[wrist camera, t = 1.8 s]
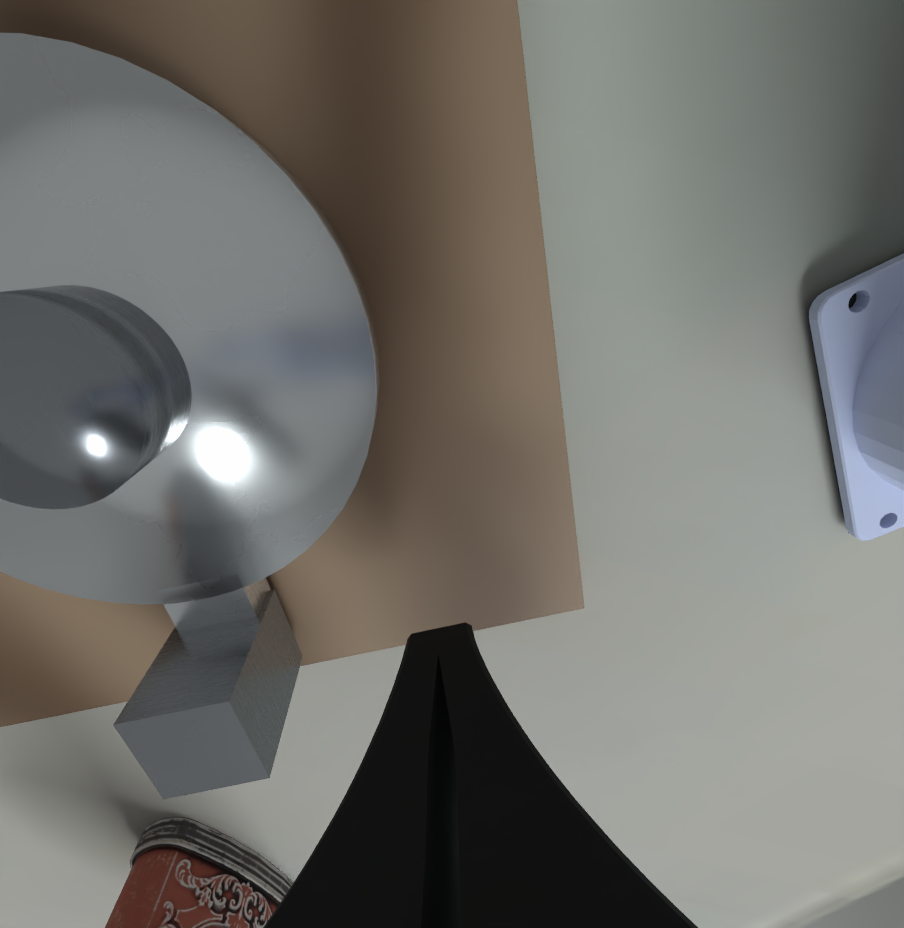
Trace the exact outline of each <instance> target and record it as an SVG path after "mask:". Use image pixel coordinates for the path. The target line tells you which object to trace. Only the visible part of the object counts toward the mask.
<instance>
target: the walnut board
mask: <svg viewBox="0 0 904 928" xmlns="http://www.w3.org/2000/svg"><path fill="white" fill-rule="evenodd" d="M0 33H23V34H29V35H34V36H40V37H45V38H51V39H57V40H62V41H68V42H73V43H76V44H79V45H82V46H85V47H88V48H91V49H94V50H97V51H100V52H103V53H107V54H110V55H113V56H116V57H119V58H122V59H124V60H126V61H128V62H130V63H132V64H134V65H136V66H139V67H141V68H143V69H145V70H147V71H149V72H151V73H153V74H156V75H158V76H160V77H162V78H164V79H166V80H168V81H170V82H171V83H173V84H174V85H176V86H178V87H179V88H181V89H182V90H184V91H186V92H187V93H189V94H190V95H192V96H194V97H195V98H197V99H198V100H200V101H202V102H203V103H205V104H206V105H208V106H210V107H211V108H213V109H214V110H215V111H217V112H218V113H220V114H221V115H223V116H224V117H226V118H227V119H229V120H230V121H231V122H233V123H234V124H236V125H237V126H238V127H239V128H241V129H242V130H243V131H244V132H246V133H247V134H248V135H249V136H251V137H252V138H253V139H254V140H256V141H257V142H258V143H259V144H261V145H262V146H263V147H264V148H266V149H267V150H268V151H269V152H270V153H271V154H272V155H273V156H274V157H275V158H276V159H277V160H278V161H279V162H280V163H281V164H282V165H283V166H284V167H285V168H286V169H287V170H288V171H289V172H290V173H291V174H292V175H293V176H294V177H295V178H296V179H297V180H298V181H299V182H300V184H301V185H302V186H303V187H304V189H305V190H306V191H307V192H308V194H309V195H310V196H311V198H312V199H313V200H314V201H315V203H316V204H317V205H318V207H319V208H320V209H321V210H322V212H323V213H324V214H325V216H326V217H327V219H328V221H329V222H330V224H331V226H332V227H333V229H334V231H335V232H336V234H337V235H338V237H339V239H340V240H341V242H342V244H343V245H344V247H345V249H346V251H347V253H348V255H349V257H350V260H351V262H352V264H353V266H354V268H355V270H356V273H357V275H358V277H359V279H360V281H361V284H362V287H363V290H364V293H365V297H366V300H367V303H368V306H369V309H370V312H371V315H372V320H373V325H374V331H375V336H376V341H377V347H378V360H379V378H380V381H379V394H378V407H377V413H376V418H375V423H374V427H373V432H372V436H371V441H370V445H369V449H368V454H367V458H366V460H365V463H364V466H363V468H362V471H361V474H360V476H359V479H358V482H357V484H356V486H355V488H354V490H353V492H352V493H351V495H350V497H349V499H348V501H347V502H346V504H345V506H344V508H343V510H342V511H341V512H340V513H339V515H338V516H337V517H336V519H335V520H334V521H333V523H332V524H331V525H330V527H329V528H328V529H327V530H326V532H325V533H324V534H323V535H322V536H321V537H320V538H319V539H318V540H317V541H316V542H315V543H314V544H313V545H312V546H310V547H309V548H308V549H307V550H306V551H305V552H304V553H303V554H301V555H300V556H298V557H297V558H296V559H294V560H293V561H292V562H290V563H289V564H288V565H286V566H285V567H284V568H282V569H280V570H278V571H276V572H275V573H273V574H271V575H269V576H267V577H266V580H267V582H268V584H269V587H270V589H271V590H274V589H275V592H276V594H277V596H278V599H279V601H280V603H281V606H282V608H283V611H284V613H285V615H286V618H287V620H288V622H289V625H290V627H291V629H292V632H293V634H294V637H295V639H296V641H297V644H298V646H299V648H300V651H301V653H302V656H303V657H302V660H301V664H300V666H303V665H308V664H313V663H318V662H323V661H327V660H332V659H337V658H342V657H347V656H352V655H357V654H362V653H367V652H372V651H377V650H381V649H386V648H391V647H396V646H401V645H406V643H407V639H408V637H409V636H410V635H411V634H412V633H417V632H422V631H426V630H431V629H436V628H441V627H446V626H450V625H455V624H460V623H465V622H466V623H468V624H470V625H472V629H473V631H475V630H480V629H485V628H489V627H494V626H499V625H504V624H509V623H514V622H519V621H524V620H529V619H534V618H539V617H543V616H548V615H553V614H558V613H563V612H568V611H573V610H578V609H583V608H584V600H583V591H582V582H581V573H580V564H579V555H578V546H577V537H576V528H575V519H574V510H573V501H572V492H571V483H570V474H569V465H568V456H567V447H566V438H565V429H564V419H563V410H562V401H561V392H560V383H559V374H558V365H557V356H556V347H555V338H554V329H553V320H552V311H551V302H550V293H549V284H548V275H547V266H546V257H545V248H544V239H543V230H542V221H541V212H540V203H539V194H538V185H537V175H536V166H535V157H534V148H533V139H532V130H531V121H530V112H529V103H528V94H527V85H526V76H525V67H524V58H523V49H522V40H521V31H520V22H519V13H518V4H517V0H0ZM174 628H175V625H174V623H173V621H172V619H171V618H170V616H169V614H168V612H167V610H166V608H165V607H164V605H163V604H148V605H142V604H125V603H111V602H104V601H98V600H91V599H85V598H79V597H75V596H71V595H67V594H63V593H59V592H55V591H51V590H47V589H44V588H42V587H39V586H36V585H33V584H30V583H27V582H24V581H22V580H19V579H16V578H13V577H11V576H9V575H6V574H4V573H2V572H0V727H3V726H8V725H13V724H18V723H23V722H28V721H33V720H38V719H43V718H48V717H53V716H57V715H62V714H67V713H72V712H77V711H82V710H87V709H92V708H97V707H102V706H107V705H111V704H116V703H121V702H126V701H129V699H130V698H131V696H132V694H133V693H134V691H135V690H136V688H137V686H138V685H139V683H140V682H141V680H142V679H143V677H144V675H145V674H146V672H147V671H148V669H149V667H150V666H151V664H152V663H153V661H154V659H155V658H156V656H157V655H158V653H159V652H160V650H161V648H162V647H163V645H164V644H165V642H166V640H167V639H168V637H169V636H170V634H171V632H172V631H173V629H174Z"/></svg>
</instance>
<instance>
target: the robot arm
mask: <svg viewBox="0 0 904 928" xmlns="http://www.w3.org/2000/svg"><path fill="white" fill-rule="evenodd" d="M855 293H856V294H857V297H856V302H855V303H854V305H853V306H852V307H851V308H850V309H849V307H848V304H849V300H850V298H851V297H852V295H853V294H855ZM809 322H810V328H811V333H812V339H813V344H814V350H815V356H816V361H817V367H818V372H819V378H820V384H821V389H822V395H823V400H824V406H825V412H826V417H827V423H828V428H829V434H830V440H831V445H832V451H833V457H834V462H835V468H836V473H837V479H838V485H839V490H840V496H841V501H842V507H843V513H844V518H845V524H846V529H847V531H848V533H850V534H851V535H853V536H854V537H856V538H858V539H859V540H863V541H867V540H871V539H874V538H877V537H879V536H882V535H884V534H886V533H889V532H891V531H894V530H896V529H898V528H901V527H903V526H904V253H903V254H901V255H899V256H897V257H895V258H893V259H891V260H889V261H886V262H884V263H882V264H880V265H878V266H876V267H874V268H872V269H870V270H868V271H866V272H863V273H861V274H859V275H857V276H855V277H853V278H851V279H849V280H847V281H845V282H843V283H840V284H838V285H836V286H834V287H832V288H830V289H828V290H826V291H824V292H823V293H821V294H820V295H818V296H817V298H816V299H815V300H814V301H813V303H812V305H811V307H810V310H809ZM883 516H884V517H883ZM882 517H883V518H882ZM263 928H698V927H697V926H696V925H695V924H694V923H693V922H691V921H690V920H689V919H688V918H687V917H686V916H685V915H684V914H683V913H682V912H681V911H680V910H679V909H678V908H677V907H676V906H675V905H674V904H673V903H672V902H671V901H670V900H669V899H668V898H667V897H666V896H665V895H664V894H663V893H662V892H660V891H659V890H658V889H657V888H656V887H655V886H654V885H653V884H652V883H651V882H650V881H649V880H648V879H647V878H646V877H645V876H644V874H643V873H642V872H641V871H640V870H639V869H638V868H637V867H636V866H635V865H634V864H633V863H632V862H631V861H630V860H629V859H628V858H627V857H626V856H625V855H624V854H623V853H622V851H621V850H620V849H619V848H618V847H617V846H616V845H615V844H614V843H613V842H612V841H611V839H610V838H609V837H608V836H607V835H606V834H605V833H604V831H603V830H602V829H601V828H600V827H599V826H598V825H597V824H596V822H595V821H594V820H593V819H592V818H591V817H590V816H589V814H588V813H587V812H586V811H585V810H584V809H583V808H582V807H581V805H580V804H579V803H578V802H577V801H576V800H575V798H574V797H573V796H572V795H571V793H570V792H569V791H568V790H567V788H566V787H565V786H564V785H563V783H562V782H561V781H560V780H559V778H558V777H557V776H556V775H555V773H554V772H553V771H552V769H551V768H550V767H549V765H548V764H547V763H546V761H545V760H544V759H543V757H542V756H541V755H540V753H539V752H538V751H537V749H536V748H535V746H534V745H533V744H532V742H531V741H530V739H529V738H528V736H527V735H526V733H525V732H524V730H523V729H522V727H521V726H520V724H519V723H518V721H517V720H516V718H515V717H514V715H513V713H512V712H511V710H510V709H509V707H508V705H507V704H506V702H505V700H504V699H503V697H502V695H501V693H500V691H499V690H498V688H497V686H496V684H495V683H494V681H493V679H492V677H491V675H490V673H489V671H488V669H487V667H486V665H485V663H484V661H483V659H482V656H481V654H480V652H479V649H478V647H477V644H476V641H475V638H474V634H473V629H472V625H470V624H468V623H466V622H465V623H460V624H455V625H450V626H446V627H441V628H436V629H431V630H426V631H422V632H417V633H412V634H411V635H410V636H409V637H408V639H407V643H406V647H405V651H404V654H403V658H402V661H401V665H400V668H399V671H398V674H397V677H396V680H395V683H394V686H393V688H392V691H391V694H390V696H389V699H388V702H387V704H386V707H385V709H384V712H383V715H382V717H381V720H380V722H379V725H378V727H377V729H376V732H375V734H374V736H373V738H372V740H371V743H370V745H369V747H368V749H367V752H366V754H365V756H364V758H363V761H362V763H361V765H360V767H359V769H358V771H357V773H356V775H355V777H354V779H353V781H352V783H351V785H350V787H349V789H348V791H347V793H346V795H345V797H344V799H343V800H342V802H341V804H340V806H339V808H338V810H337V812H336V813H335V815H334V817H333V819H332V821H331V822H330V824H329V826H328V827H327V829H326V831H325V832H324V834H323V836H322V838H321V839H320V841H319V843H318V844H317V846H316V848H315V850H314V851H313V853H312V855H311V856H310V858H309V859H308V861H307V863H306V864H305V866H304V868H303V869H302V871H301V872H300V874H299V875H298V877H297V879H296V880H295V882H294V883H293V885H292V886H291V888H290V889H289V891H288V892H287V894H286V895H285V896H284V898H283V899H282V901H281V902H280V904H279V905H278V907H277V908H276V910H275V911H274V913H273V914H272V916H271V917H270V919H269V920H268V921H267V923H266V924H265V926H264V927H263Z"/></svg>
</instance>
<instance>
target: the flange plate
mask: <svg viewBox="0 0 904 928" xmlns="http://www.w3.org/2000/svg"><path fill="white" fill-rule="evenodd" d="M379 381H380V378H379V360H378V347H377V341H376V336H375V331H374V325H373V320H372V315H371V312H370V309H369V306H368V303H367V300H366V297H365V293H364V290H363V287H362V284H361V281H360V279H359V277H358V275H357V273H356V270H355V268H354V266H353V264H352V262H351V260H350V257H349V255H348V253H347V251H346V249H345V247H344V245H343V244H342V242H341V240H340V239H339V237H338V235H337V234H336V232H335V231H334V229H333V227H332V226H331V224H330V222H329V221H328V219H327V217H326V216H325V214H324V213H323V212H322V210H321V209H320V208H319V207H318V205H317V204H316V203H315V201H314V200H313V199H312V198H311V196H310V195H309V194H308V192H307V191H306V190H305V189H304V187H303V186H302V185H301V184H300V182H299V181H298V180H297V179H296V178H295V177H294V176H293V175H292V174H291V173H290V172H289V171H288V170H287V169H286V168H285V167H284V166H283V165H282V164H281V163H280V162H279V161H278V160H277V159H276V158H275V157H274V156H273V155H272V154H271V153H270V152H269V151H268V150H267V149H266V148H264V147H263V146H262V145H261V144H259V143H258V142H257V141H256V140H254V139H253V138H252V137H251V136H249V135H248V134H247V133H246V132H244V131H243V130H242V129H241V128H239V127H238V126H237V125H236V124H234V123H233V122H231V121H230V120H229V119H227V118H226V117H224V116H223V115H221V114H220V113H218V112H217V111H215V110H214V109H213V108H211V107H210V106H208V105H206V104H205V103H203V102H202V101H200V100H198V99H197V98H195V97H194V96H192V95H190V94H189V93H187V92H186V91H184V90H182V89H181V88H179V87H178V86H176V85H174V84H173V83H171V82H170V81H168V80H166V79H164V78H162V77H160V76H158V75H156V74H153V73H151V72H149V71H147V70H145V69H143V68H141V67H139V66H136V65H134V64H132V63H130V62H128V61H126V60H124V59H122V58H119V57H116V56H113V55H110V54H107V53H103V52H100V51H97V50H94V49H91V48H88V47H85V46H82V45H79V44H76V43H73V42H68V41H62V40H57V39H51V38H45V37H40V36H34V35H29V34H23V33H0V572H2V573H4V574H6V575H9V576H11V577H13V578H16V579H19V580H22V581H24V582H27V583H30V584H33V585H36V586H39V587H42V588H44V589H47V590H51V591H55V592H59V593H63V594H67V595H71V596H75V597H79V598H85V599H91V600H98V601H104V602H111V603H125V604H142V605H148V604H163V605H164V607H165V608H166V610H167V612H168V614H169V616H170V618H171V619H172V621H173V623H174V625H175V628H174V629H173V631H172V632H171V634H170V636H169V637H168V639H167V640H166V642H165V644H164V645H163V647H162V648H161V650H160V652H159V653H158V655H157V656H156V658H155V659H154V661H153V663H152V664H151V666H150V667H149V669H148V671H147V672H146V674H145V675H144V677H143V679H142V680H141V682H140V683H139V685H138V686H137V688H136V690H135V691H134V693H133V694H132V696H131V698H130V699H129V701H128V702H127V704H126V706H125V707H124V709H123V710H122V712H121V713H120V715H119V717H118V718H117V720H116V721H115V723H114V727H115V728H116V730H117V731H118V732H119V734H120V735H121V737H122V738H123V740H124V741H125V743H126V744H127V746H128V747H129V749H130V750H131V752H132V753H133V755H134V756H135V758H136V759H137V760H138V762H139V763H140V765H141V766H142V768H143V769H144V771H145V772H146V774H147V775H148V777H149V778H150V780H151V781H152V783H153V784H154V785H155V787H156V788H157V790H158V791H159V793H160V794H161V796H162V797H163V799H167V798H172V797H177V796H182V795H187V794H192V793H197V792H202V791H207V790H212V789H217V788H222V787H227V786H232V785H237V784H242V783H247V782H252V781H257V780H262V779H267V778H270V774H271V770H272V767H273V763H274V759H275V756H276V752H277V748H278V745H279V741H280V737H281V734H282V730H283V726H284V723H285V719H286V715H287V712H288V708H289V704H290V701H291V697H292V693H293V690H294V686H295V682H296V679H297V675H298V671H299V668H300V664H301V660H302V657H303V656H302V653H301V651H300V648H299V646H298V644H297V641H296V639H295V637H294V634H293V632H292V629H291V627H290V625H289V622H288V620H287V618H286V615H285V613H284V611H283V608H282V606H281V603H280V601H279V599H278V596H277V594H276V592H275V589H274V590H271V589H270V587H269V584H268V582H267V580H266V577H267V576H269V575H271V574H273V573H275V572H276V571H278V570H280V569H282V568H284V567H285V566H286V565H288V564H289V563H290V562H292V561H293V560H294V559H296V558H297V557H298V556H300V555H301V554H303V553H304V552H305V551H306V550H307V549H308V548H309V547H310V546H312V545H313V544H314V543H315V542H316V541H317V540H318V539H319V538H320V537H321V536H322V535H323V534H324V533H325V532H326V530H327V529H328V528H329V527H330V525H331V524H332V523H333V521H334V520H335V519H336V517H337V516H338V515H339V513H340V512H341V511H342V510H343V508H344V506H345V504H346V502H347V501H348V499H349V497H350V495H351V493H352V492H353V490H354V488H355V486H356V484H357V482H358V479H359V476H360V474H361V471H362V468H363V466H364V463H365V460H366V458H367V454H368V449H369V445H370V441H371V436H372V432H373V427H374V423H375V418H376V413H377V407H378V394H379Z"/></svg>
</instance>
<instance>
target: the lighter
mask: <svg viewBox="0 0 904 928" xmlns="http://www.w3.org/2000/svg"><path fill="white" fill-rule="evenodd" d="M130 868H131V871H130V874H129V876H128V878H127V880H126V882H125V885H124V887H123V889H122V891H121V893H120V896H119V898H118V900H117V902H116V904H115V907H114V909H113V911H112V913H111V915H110V918H109V920H108V922H107V924H106V926H105V928H263V927H264V926H265V924H266V923H267V921H268V920H269V919H270V917H271V916H272V914H273V913H274V911H275V910H276V908H277V907H278V905H279V904H280V902H281V901H282V899H283V898H284V896H285V895H286V894H287V892H288V891H289V889H290V888H291V886H292V885H293V882H292V881H291V880H290V879H289V878H288V877H287V876H286V875H285V874H284V873H282V872H281V871H280V870H278V869H277V868H276V867H275V866H273V865H272V864H271V863H270V862H268V861H267V860H266V859H264V858H263V857H262V856H261V855H259V854H257V853H256V852H254V851H252V850H251V849H249V848H247V847H245V846H244V845H242V844H240V843H239V842H237V841H235V840H234V839H232V838H230V837H228V836H226V835H224V834H222V833H220V832H218V831H215V830H213V829H211V828H209V827H207V826H205V825H203V824H200V823H198V822H196V821H193V820H190V819H187V818H168V819H162V820H159V821H157V822H154V823H152V824H151V825H150V826H148V827H147V828H146V829H145V830H144V832H143V834H142V836H141V838H140V840H139V842H138V844H137V846H136V849H135V851H134V853H133V855H132V857H131V859H130Z"/></svg>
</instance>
